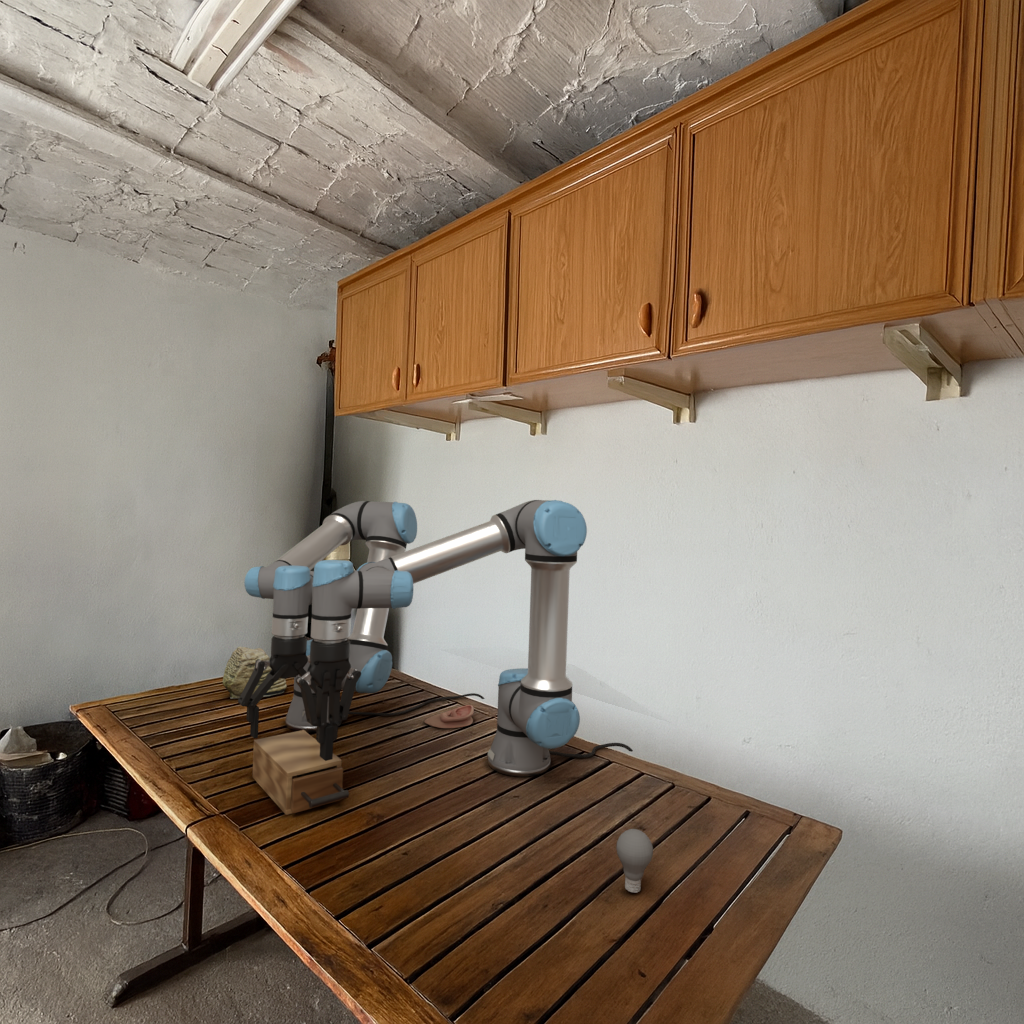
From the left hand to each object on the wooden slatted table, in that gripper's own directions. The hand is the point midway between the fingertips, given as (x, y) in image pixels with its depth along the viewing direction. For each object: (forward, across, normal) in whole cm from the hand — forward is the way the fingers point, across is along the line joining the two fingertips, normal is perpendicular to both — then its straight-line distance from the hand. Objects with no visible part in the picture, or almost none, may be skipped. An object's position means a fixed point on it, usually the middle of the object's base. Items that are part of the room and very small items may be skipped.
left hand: (285, 730), depth 141 cm
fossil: (+10, +14, +62) cm, 65 cm away
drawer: (+10, 0, -12) cm, 15 cm away
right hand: (-1, 0, -21) cm, 21 cm away
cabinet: (+11, 0, -6) cm, 12 cm away
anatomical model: (+10, +51, +9) cm, 53 cm away
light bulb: (+11, +32, -73) cm, 81 cm away
